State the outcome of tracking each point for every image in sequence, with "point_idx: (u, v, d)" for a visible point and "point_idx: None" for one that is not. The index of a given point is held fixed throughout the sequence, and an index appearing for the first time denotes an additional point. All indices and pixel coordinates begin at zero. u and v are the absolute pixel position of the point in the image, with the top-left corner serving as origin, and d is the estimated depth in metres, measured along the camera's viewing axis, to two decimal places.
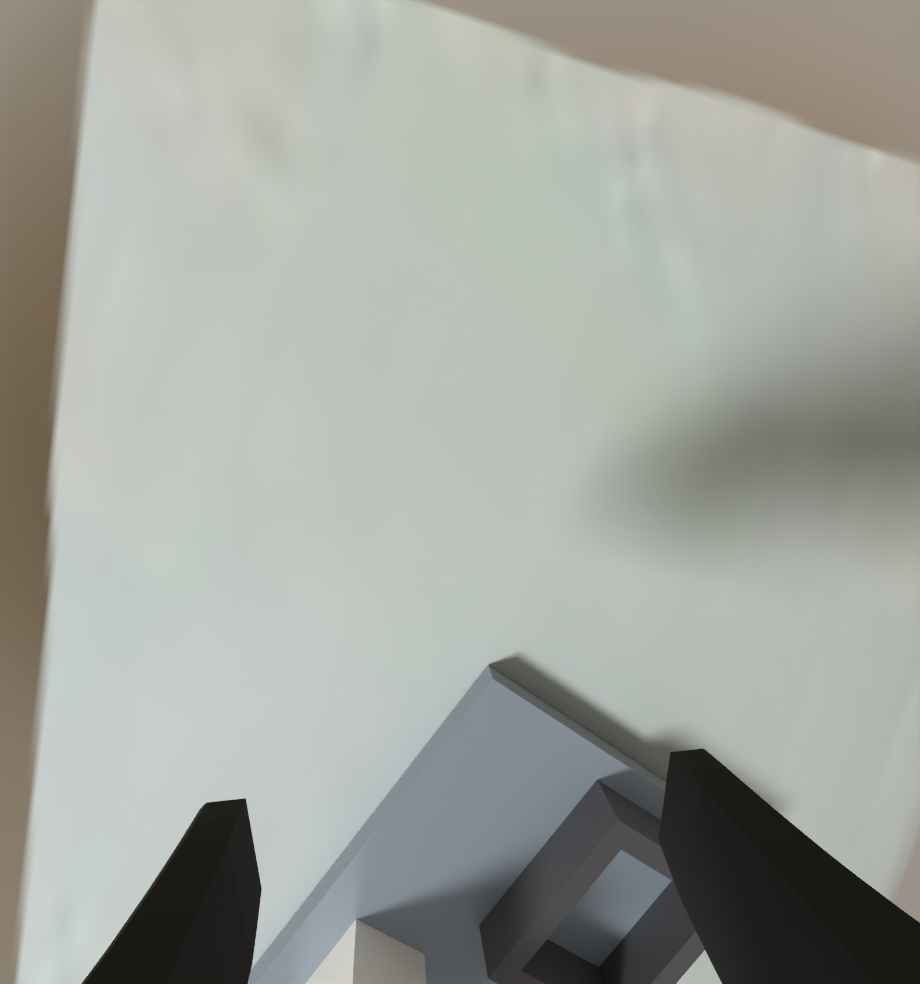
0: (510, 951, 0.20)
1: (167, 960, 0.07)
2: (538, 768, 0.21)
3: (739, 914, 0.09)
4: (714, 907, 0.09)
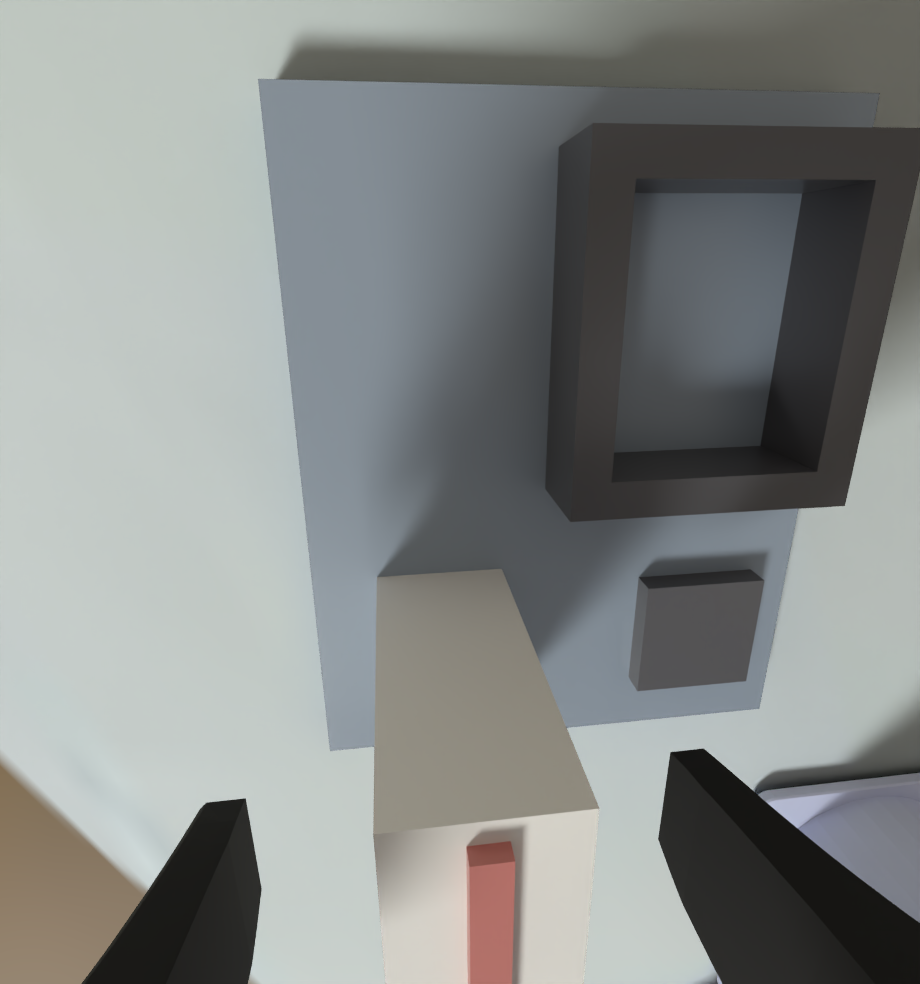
0: (574, 464, 0.12)
1: (167, 960, 0.07)
2: (451, 192, 0.12)
3: (739, 914, 0.09)
4: (714, 907, 0.09)
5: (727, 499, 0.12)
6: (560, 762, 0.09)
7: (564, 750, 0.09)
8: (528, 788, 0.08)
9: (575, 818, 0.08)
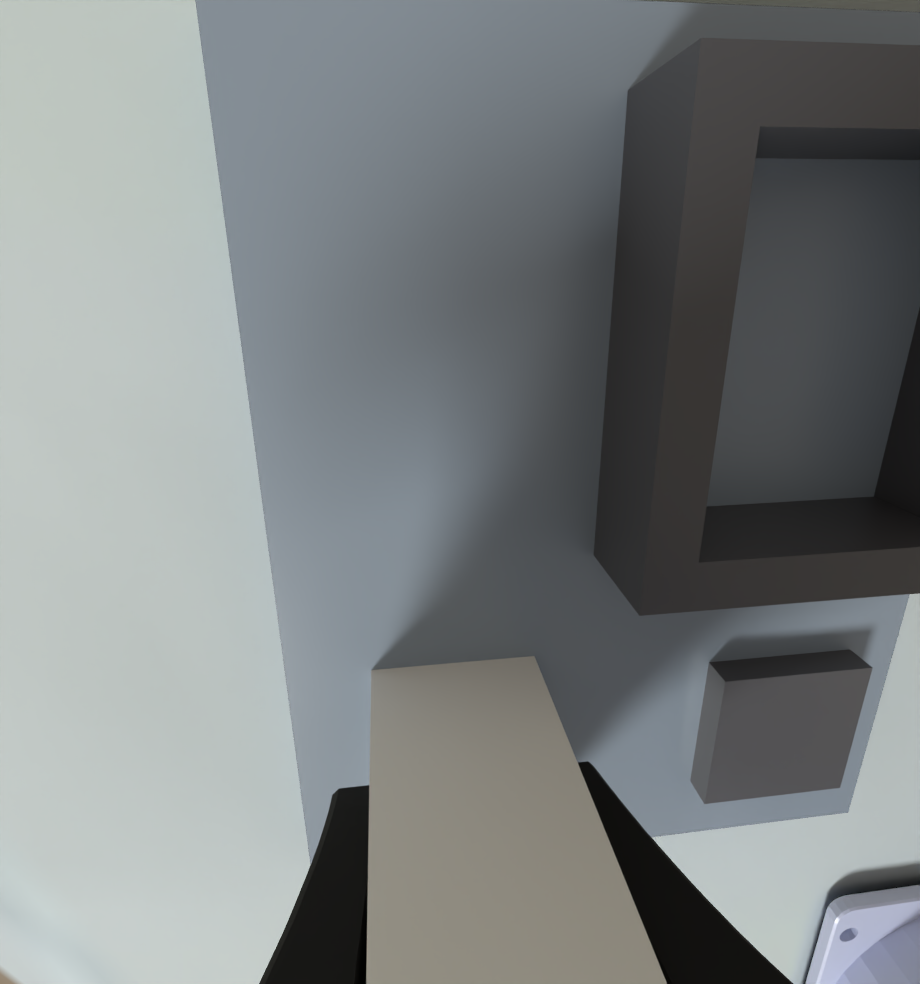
0: (648, 538, 0.08)
1: (350, 935, 0.07)
2: (475, 154, 0.08)
3: None
4: None
5: (853, 581, 0.09)
6: None
7: None
8: None
9: None
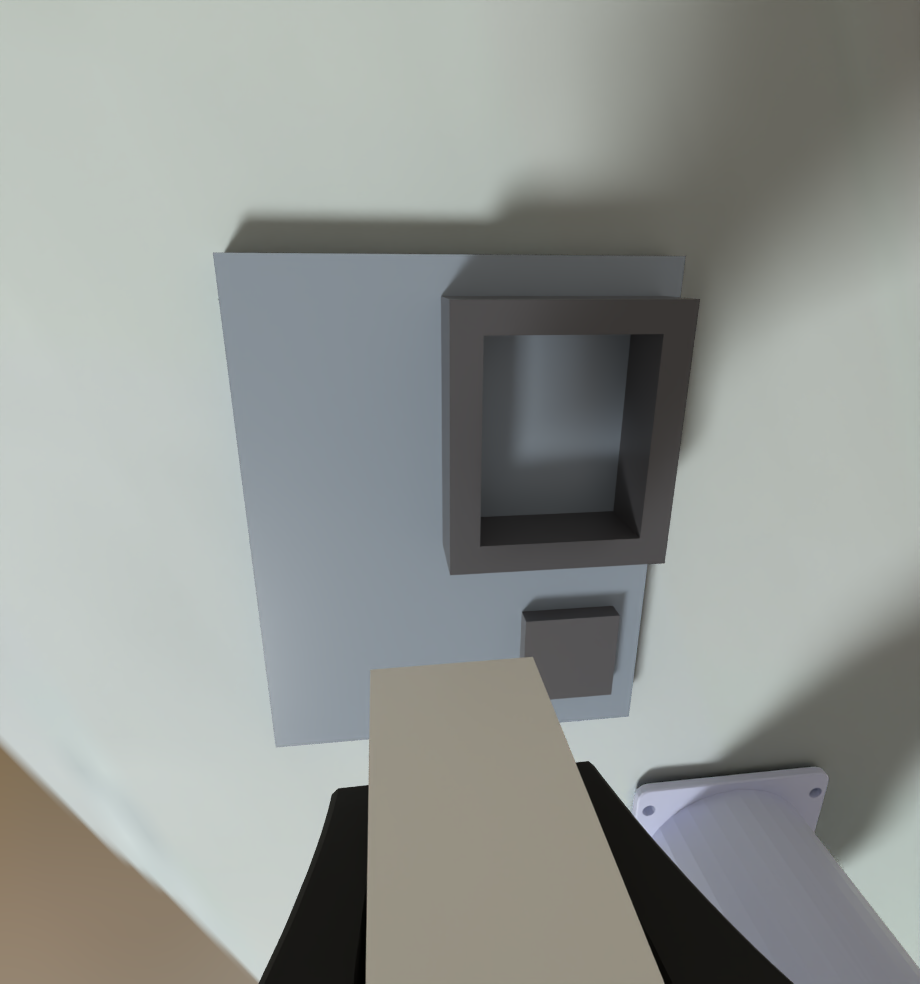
0: (450, 533, 0.16)
1: (349, 935, 0.07)
2: (360, 328, 0.16)
3: None
4: None
5: (571, 558, 0.16)
6: None
7: None
8: None
9: None
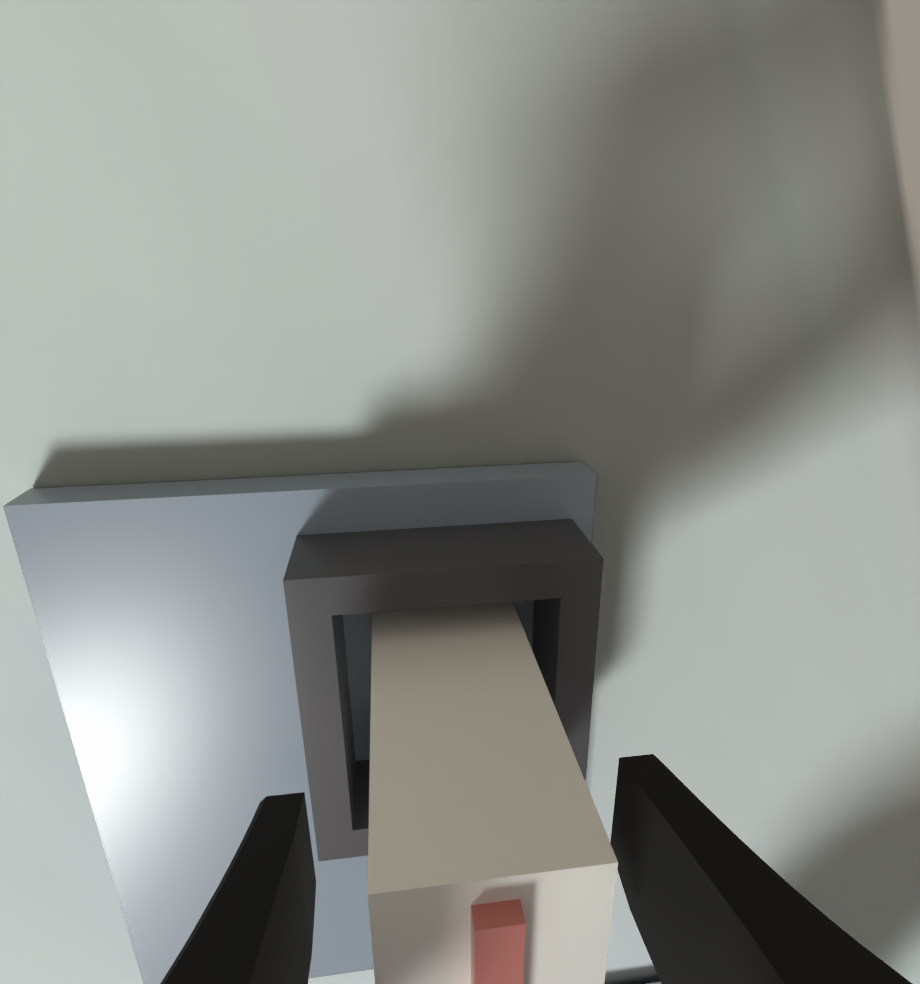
0: (314, 819, 0.13)
1: (250, 949, 0.07)
2: (199, 575, 0.13)
3: (679, 923, 0.08)
4: (657, 915, 0.09)
5: None
6: (573, 806, 0.08)
7: (577, 792, 0.08)
8: (539, 838, 0.08)
9: (591, 873, 0.07)
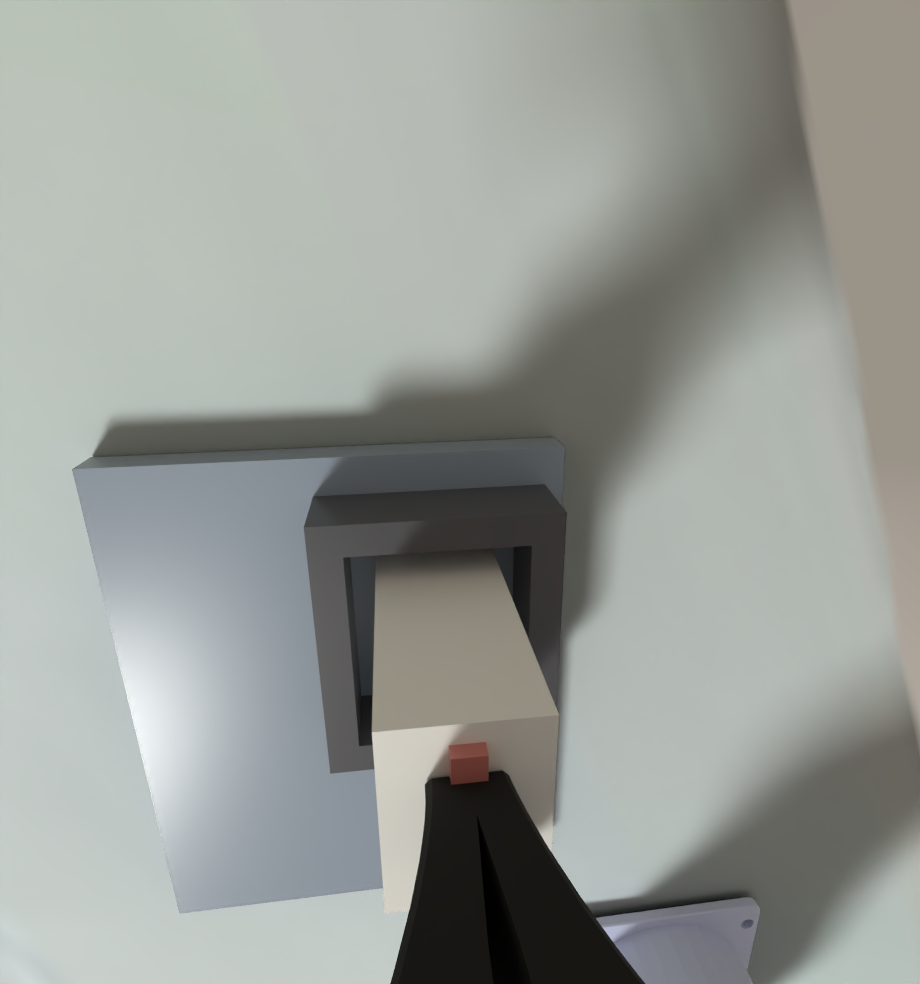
0: (327, 735, 0.15)
1: (476, 918, 0.07)
2: (231, 530, 0.15)
3: (497, 949, 0.08)
4: (488, 939, 0.09)
5: None
6: (529, 683, 0.11)
7: (533, 675, 0.11)
8: (501, 700, 0.10)
9: (539, 723, 0.10)
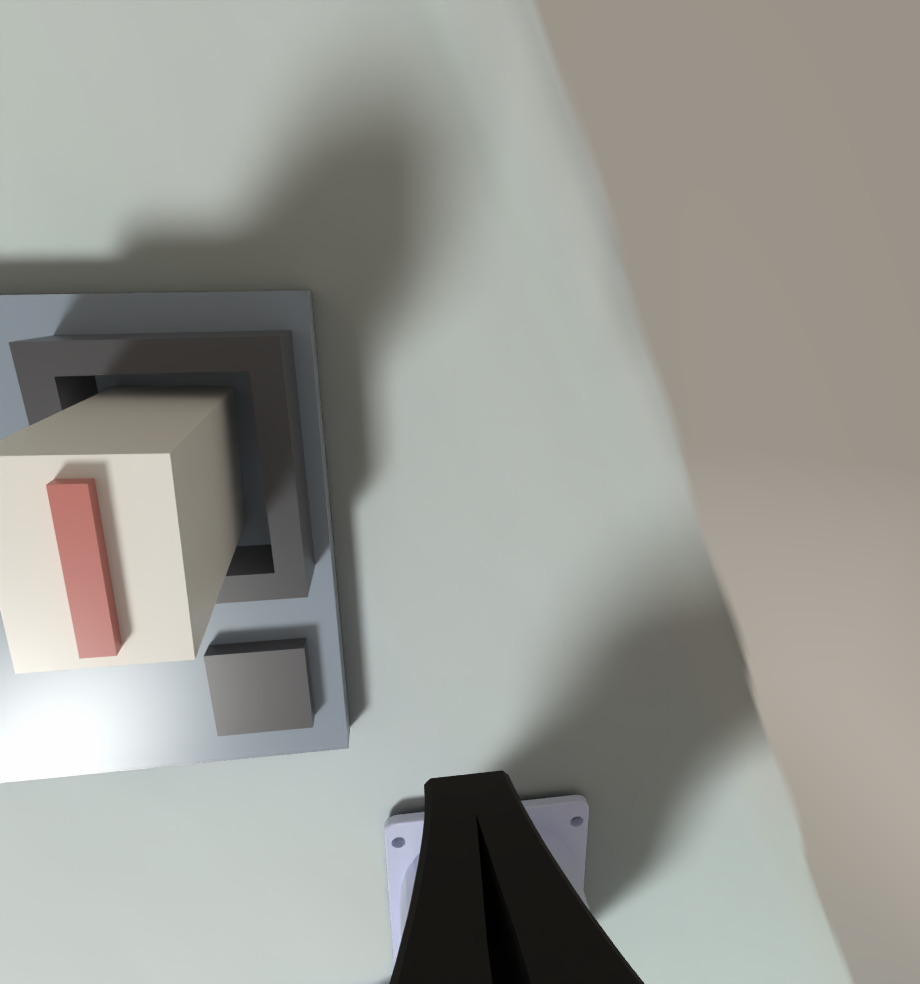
0: None
1: (475, 918, 0.07)
2: None
3: (496, 949, 0.08)
4: (487, 939, 0.09)
5: None
6: (164, 441, 0.11)
7: (175, 439, 0.11)
8: (122, 447, 0.10)
9: (151, 463, 0.10)
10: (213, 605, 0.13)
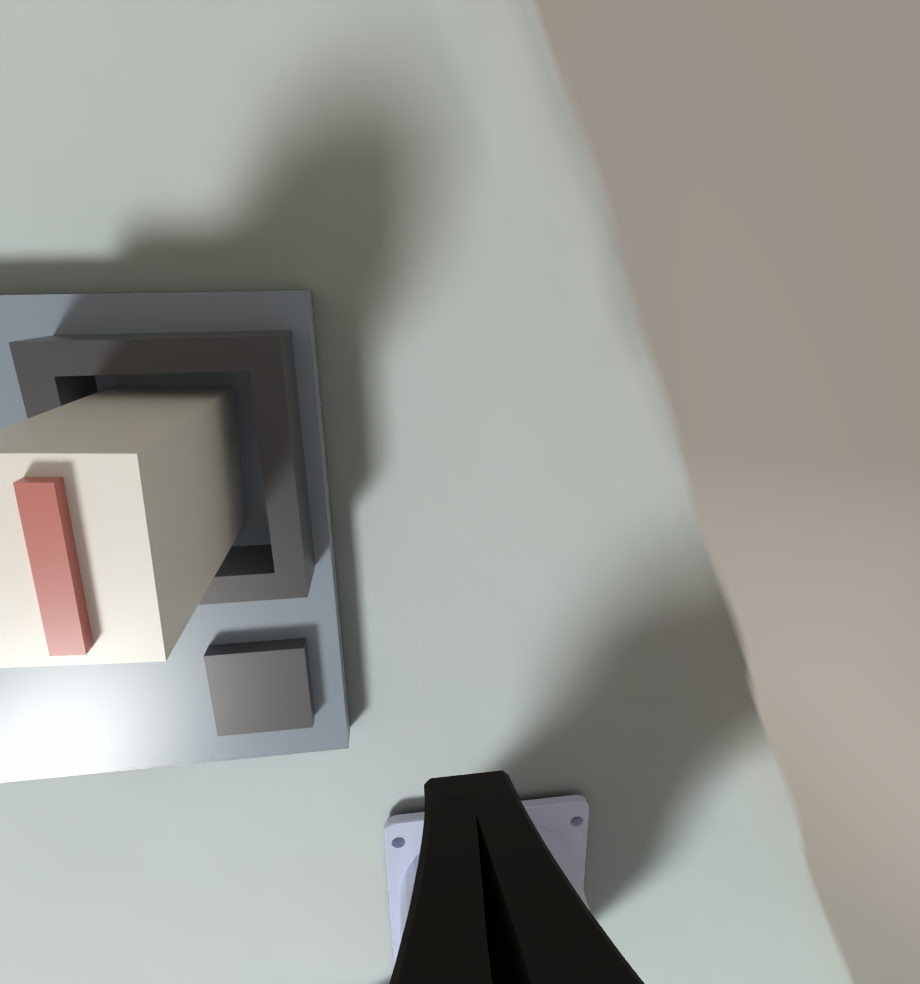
0: None
1: (475, 918, 0.07)
2: None
3: (496, 949, 0.08)
4: (487, 939, 0.09)
5: (204, 594, 0.16)
6: (138, 441, 0.11)
7: (150, 438, 0.11)
8: (93, 446, 0.10)
9: (119, 462, 0.10)
10: (195, 606, 0.13)
